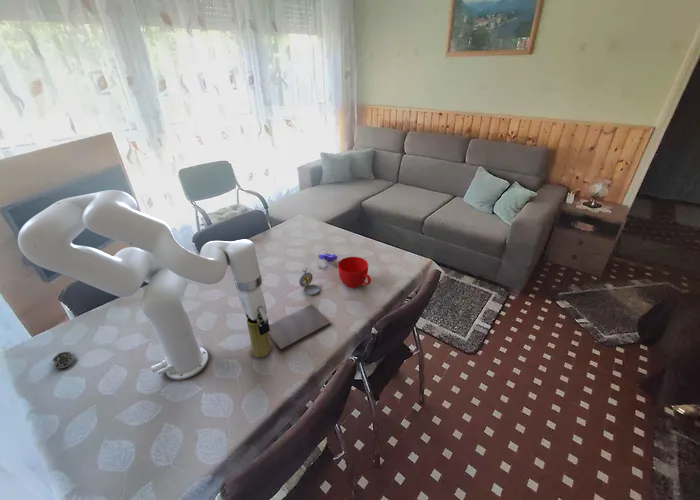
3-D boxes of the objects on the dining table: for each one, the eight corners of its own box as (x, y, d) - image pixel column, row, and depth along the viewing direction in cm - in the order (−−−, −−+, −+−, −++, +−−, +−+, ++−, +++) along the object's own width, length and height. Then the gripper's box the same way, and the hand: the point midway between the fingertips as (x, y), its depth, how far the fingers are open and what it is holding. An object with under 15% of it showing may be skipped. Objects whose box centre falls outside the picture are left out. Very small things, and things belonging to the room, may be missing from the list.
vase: (273, 344, 111) (267, 312, 104) (267, 358, 105) (261, 325, 98) (256, 343, 111) (249, 311, 104) (249, 356, 106) (242, 324, 99)
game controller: (334, 249, 160) (342, 254, 151) (331, 264, 161) (339, 271, 153) (315, 247, 155) (322, 253, 147) (312, 263, 157) (319, 270, 148)
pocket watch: (317, 297, 133) (315, 277, 128) (297, 294, 135) (295, 274, 130) (322, 285, 140) (321, 266, 135) (304, 283, 141) (302, 264, 136)
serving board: (281, 351, 108) (281, 349, 108) (264, 329, 117) (263, 327, 116) (329, 324, 119) (329, 322, 118) (310, 307, 128) (310, 305, 127)
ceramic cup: (358, 301, 131) (358, 281, 125) (332, 282, 142) (331, 263, 137) (380, 288, 138) (381, 269, 133) (354, 272, 149) (354, 253, 144)
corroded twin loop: (70, 350, 108) (68, 348, 108) (76, 363, 104) (75, 361, 103) (51, 359, 105) (50, 357, 105) (57, 373, 101) (55, 370, 100)
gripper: (224, 272, 98) (236, 315, 107) (248, 300, 86) (259, 346, 95) (248, 264, 102) (257, 305, 111) (273, 289, 90) (281, 334, 99)
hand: (258, 324), depth 103 cm, fingers open, 9 cm apart
